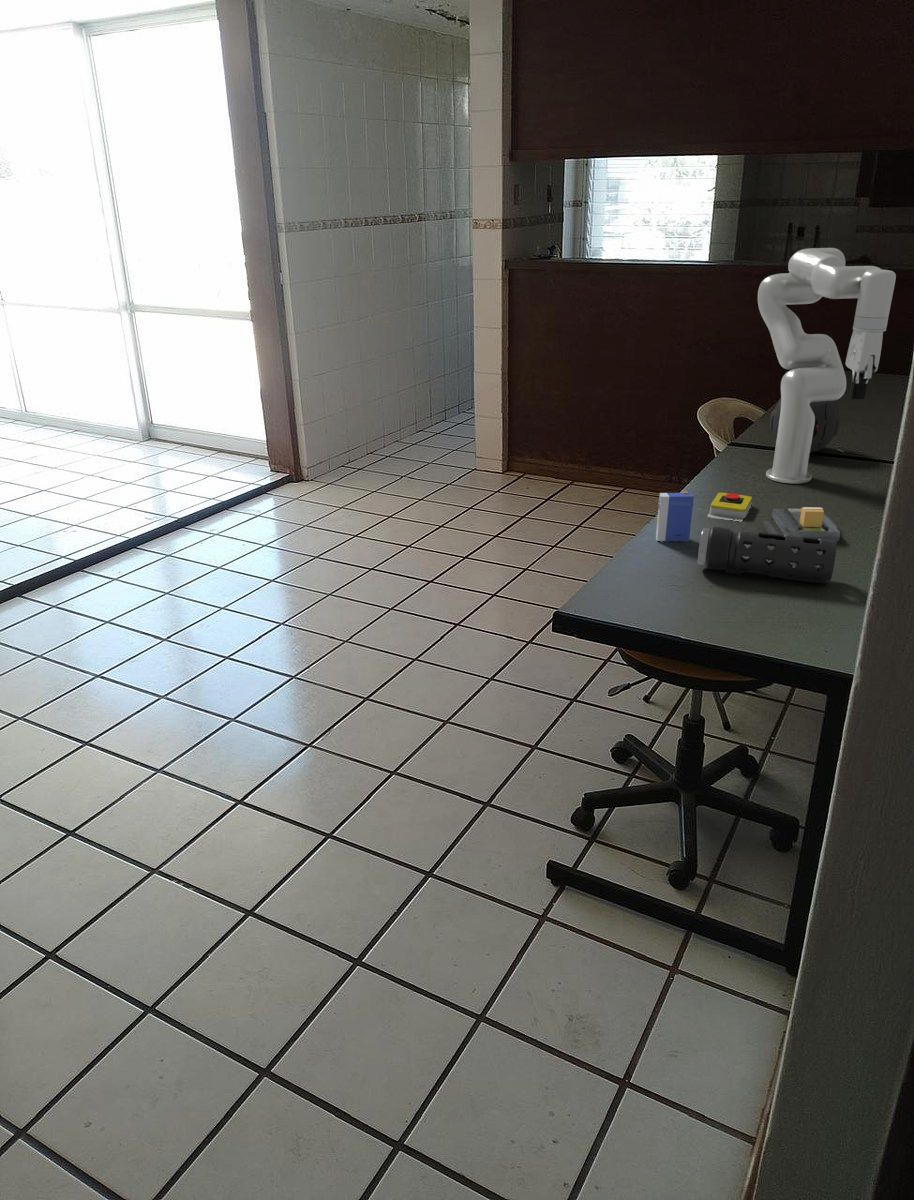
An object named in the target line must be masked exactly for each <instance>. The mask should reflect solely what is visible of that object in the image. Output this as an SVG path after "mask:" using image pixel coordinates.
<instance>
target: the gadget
mask: <svg viewBox="0 0 914 1200" xmlns="http://www.w3.org/2000/svg"><path fill="white" fill-rule="evenodd" d="M810 407H811V409H812V411H813V413H814V416H815V424H814V430H813V436H812V442H811V448H810V453H814V452H817V451H820V450H823V449H824V448H826V446H827V445H829V444H830V443H831V442H832V441H833V439H834V437H835V436H837V434H838V433H839V431H840V430H839V429H840V425H841V424H840V423H841V421H842V417H841V415H840V410H839V406H838V404H837V402H836V400H833V401H823V402H811V403H810ZM780 412H781V398H780V399H779V400H778V401H777V403H776V404H775V406H774V409H773V410H772V411H771V413H770V420H769V428H770V430H771V432H772V436H773V437H774V440H775V441H777V434H778V427H779V419H780Z"/></svg>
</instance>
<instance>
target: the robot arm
mask: <svg viewBox="0 0 914 1200" xmlns="http://www.w3.org/2000/svg"><path fill="white" fill-rule="evenodd" d="M787 269H788V273H787V272H786V273H785V272H784V273H783V272H782V273H776V274H772V275H768V276H767V277H764V279H762V281H761V282H760V284H759V287H758V290H757V304H758V310H759V313H760V315H761V318H762V319H763V322H764V323H765V325H766V327H767V328H768V331H769V334H770V337H771V340H772V345H773V348H774V351H775V353H776V354H775V355H776V357H777V360H778V363H779V365H780V366H781V367H782V368H783V369H784V370H789V371H786V372H785V374H784V375H783V376H782V378H781V380H780V399H781V412H780V419H779V427H778V434H777V441H776V440H775V441H776V442H775V449H774V455H773V461H772V468H768V469H767V470H766V472H765V477H766V478H767V479H769V480H771V481H774V482H777V483H782V484H783V483H784V484H795V485H796V484H799V485H800V484H806V483H809V482H810V481H811V480H812V476H813V475H812V473H810V472H809V471H808V465H809V459H810V448H811V442H812V436H813V430H814V424H815V416H814V413H813V411H812V409H811V407H810V403H811V402H823V401H833V400H835V401H837V400H839V399H841V398H842V396H844V395H845V392H846V390H847V377H846V376H847V375H846V373H845V369H844V366H843V363H842V359H841V356H840V354H839V351H838V347H837V345H836V343H835V341H834V340H833V338H832V337H830V336H829V335H828V334H824V333H823V334H822V333H813V334H812V333H811V334H809V333H806V332H805V331H804V329H803V327H802V323H801V320H800V318H799V317H798V316H797V314H796V313H795V312H793V311H792V310H791V309H790V308H789V307H787V305H808V304H809V305H810V304H814V303H816V302H818V301H819V300H821V298H823V297H824V298H826V299H827V298H828V299H831V300H839V299H840V300H841V299H844V300H845V299H857V303H856V307H855V314H854V318H853V319H854V321H853V325H852V334H851V337H850V341H849V343H848V345H849V346H848V349H847V354H846V358H845V366H846V367H847V368H848V369H850V370H851V371H852V375H851V386H850V391H849V398H850V399H851V400H864V399H865V397H866V392H867V386H868V383H869V380H871V379H872V376H873V373H876V372H877V371H878V369H879V364H880V361H881V360H880V358H881V353H882V352H881V351H882V346H883V338H884V336H883V335H884V332H886V331H887V327H888V321H889V315H890V310H891V305H892V300H893V294H894V290H895V284H896V278H897V275H896V272H894V271H893V270H888V269H882V268H881V267H878V266H875V265H854V266H853V265H849V266H847V265H846V258H845V255H844V253H843V252H842V250H840V249H838V248H835V247H819V248H818V247H814V248H811V247H810V248H803V249H800V250H798V251H796V252H795V253H794V254H793V255H792V256H791V257H790V258H789V261H788V267H787Z"/></svg>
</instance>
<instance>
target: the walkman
mask: <svg viewBox="0 0 914 1200" xmlns="http://www.w3.org/2000/svg"><path fill="white" fill-rule="evenodd" d="M693 506H694V495H693V494H692V492H688V491H682V492H659V498H658V503H657V510H658V511H657V519H656V532H655V541H656V540H657V541H661V542H660V543H663V542H662V541H666V542H665V543H670V542H669V541H675V542H676V541H677V542H676V543H679V542H678V541H680V543H681V541H682V542H683V543H684V542H685V543H687V542H688V543H689V542H690V535H691V525H692V514H693ZM657 541H656V542H657ZM667 541H668V542H667ZM675 542H674V543H675Z"/></svg>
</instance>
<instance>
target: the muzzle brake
mask: <svg viewBox="0 0 914 1200" xmlns="http://www.w3.org/2000/svg"><path fill="white" fill-rule="evenodd" d="M698 545H699V546H698V554H697V564H698V565H701V566H704V567H705V568H706V569H711V570H719V571H725V574H735V575H740V576H741V575H742V574H743V573H751V574H759V575H766V576H767V575H768V577H769V578H781V579H782V580H788V581H789V580H791V581H799V582H806V583H814V584H815V583H816V584H824V585H826V584H828V582H831V580H832V578H833V573H834V569H835V562H836V555H837V554H836V553H837V542H836V541H835V540H827V539H817V538H808V537H798V536H789V535H783V534H779V533H778V534H770V533H767V532H761V531H759V532H758V531H749V530H738V531H733V529H732V528H730V527H725V526H724V527H723V526H714V525H713V526H710V527H709V528H707V527H706V528H702V529H701V533H700V538H699V544H698ZM768 546H769V547H773V548H772V549H770V548H769V547H768ZM796 549H797V550H796ZM793 550H796V551H793ZM818 552H821V553H820V554H819V553H818ZM768 561H770V562H768ZM817 566H819V567H817Z"/></svg>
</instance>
